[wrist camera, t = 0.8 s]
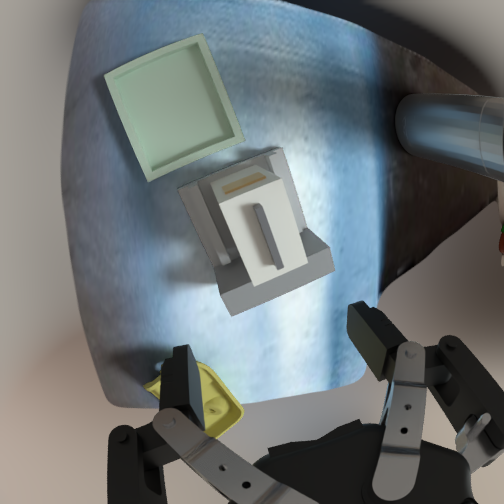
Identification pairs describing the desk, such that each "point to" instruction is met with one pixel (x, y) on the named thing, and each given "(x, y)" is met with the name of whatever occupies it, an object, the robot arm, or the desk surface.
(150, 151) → the tray
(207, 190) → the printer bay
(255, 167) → the labeled white box
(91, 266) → the desk surface
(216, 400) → the plastic component
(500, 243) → the motor
